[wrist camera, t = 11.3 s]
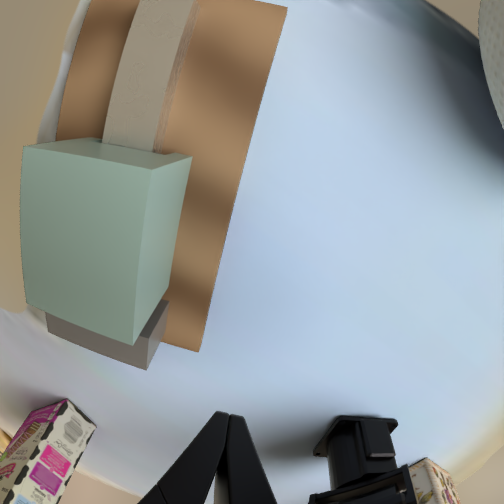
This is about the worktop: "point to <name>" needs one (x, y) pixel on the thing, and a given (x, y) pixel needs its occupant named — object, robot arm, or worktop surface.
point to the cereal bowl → (493, 50)
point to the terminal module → (99, 231)
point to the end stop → (112, 348)
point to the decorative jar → (433, 484)
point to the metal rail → (149, 74)
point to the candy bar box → (44, 454)
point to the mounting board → (187, 128)
